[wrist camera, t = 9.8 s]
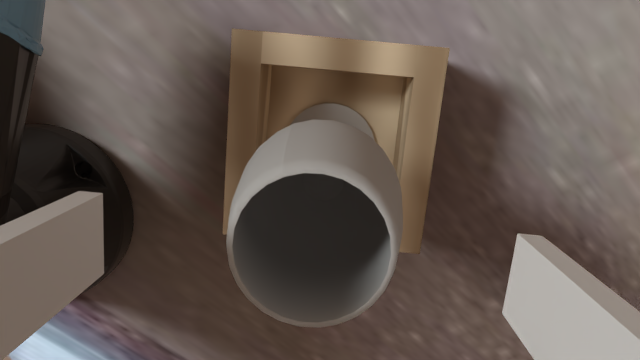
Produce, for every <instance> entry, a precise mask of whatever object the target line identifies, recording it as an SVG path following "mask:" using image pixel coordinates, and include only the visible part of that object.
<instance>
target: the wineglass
mask: <svg viewBox="0 0 640 360" xmlns="http://www.w3.org/2000/svg"><path fill="white" fill-rule="evenodd" d="M402 232H403V209H402V192H401V186H400V183H399V180H398V177H397V173H396V170H395V168H394V166H393V165H392V163H391V161H390V160H389V158H388V157H387V155H386V153H385V152H384V150H383V149H382V148H381V147H380V146H379V145H378V144H377V143H376V142H375V140H374V137H373V134H372V130H371V129H370V127H369V125H368V124H367V122H366V121H365V119H363V118H362V117H361V116H360V115H359V114H358V113H357V112H356V111H354V110H352V109H350V108H349V107H346V106H343V105H340V104H333V103H324V104H319V105H314V106H312V107H310V108H308V109H306V110H304V111H303V112H302V113H300V114H299V115H298V116H297V117H296V118H295V119H294V120H293V122H292V123H291V124H290V126H288V127H286V128H284V129H282V130H280V131H278V132H276V133H275V134H274V135H273V136H271V137H270V138H269V139H268V140H267V141H266V142H264V143H263V144H262V145H261V146H260V147H259V148H258V149H257V150H256V152H255V153H254V154H253V156H252V157H251V159H250V160H249V161H248V163H247V165H246V167H245V169H244V171H243V174H242V176H241V179H240V181H239V184H238V186H237V189H236V192H235V194H234V197H233V200H232V204H231V208H230V214H229V220H228V229H227V238H226V248H227V255H228V263H229V267H230V269H231V272H232V274H233V277H234V279H235V282H236V284H237V285H238V287H239V288H240V289H241V291H242V292H243V293H244V295H245V296H246V298H247V299H248V300H249V301H250V302H252V303H253V304H254V305H255V306H256V307H257V308H258V309H260V310H261V311H262V312H263V313H265V314H267V315H269V316H271V317H273V318H275V319H276V320H278V321H281V322H284V323H288V324H291V325H295V326H298V327H314V328H320V327H326V326H332V325H338V324H341V323H343V322H346V321H348V320H351V319H353V318H355V317H357V316H359V315H360V314H361V313H363V312H364V311H366V310H367V309H368V308H370V307H371V306H372V305H373V304H374V303H375V302H376V301H377V300H378V298H379V297H380V296H381V295H382V294H383V293H384V292H385V290H386V288H387V286H388V284H389V282H390V280H391V278H392V276H393V273H394V271H395V268H396V263H397V259H398V254H399V249H400V244H401V239H402Z"/></svg>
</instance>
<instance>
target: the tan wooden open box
mask: <svg viewBox="0 0 640 360" xmlns="http://www.w3.org/2000/svg"><path fill="white" fill-rule="evenodd" d="M449 49H450V48H442V47H431V46H420V45H409V44H398V43H386V42H375V41H364V40H353V39H342V38H331V37H320V36H308V35H297V34H286V33H275V32H264V31H253V30H242V29H232V39H231V61H230V83H229V105H228V127H227V148H226V170H225V192H224V214H223V234H226V235H227V229H228V220H229V214H230V208H231V204H232V200H233V197H234V194H235V192H236V189H237V186H238V184H239V181H240V179H241V176H242V174H243V171H244V169H245V167H246V165H247V163H248V161H249V160H250V159H251V157H252V156H253V154H254V153H255V152H256V150H257V149H258V148H259V147H260V146H261V145H262V144H263V143H264V142H266V141H267V140H268V139H269V138H270V137H271V136H273V135H274V134H275V133H276V132H278V131H280V130H282V129H284V128H286V127H288V126H290V124H291V123H292V122H293V120H294V119H295V118H296V117H297V116H298V115H299V114H300V113H302V112H303V111H304V110H306V109H308V108H310V107H312V106H314V105H319V104H324V103H333V104H340V105H343V106H346V107H349V108H350V109H352V110H354V111H356V112H357V113H358V114H359V115H360V116H361V117H362V118H363V119H365V121H366V122H367V124H368V125H369V127H370V129H371V130H372V134H373V137H374V140H375V142H376V143H377V144H378V145H379V146H380V147H381V148H382V149H383V150H384V152H385V153H386V155H387V157H388V158H389V160H390V161H391V163H392V165H393V166H394V168H395V170H396V173H397V177H398V180H399V183H400V186H401V192H402V209H403V232H402V239H401V244H400V249H399V252H405V253H415V254H420V248H421V241H422V234H423V227H424V221H425V214H426V207H427V200H428V193H429V186H430V179H431V172H432V166H433V159H434V152H435V145H436V138H437V131H438V124H439V118H440V111H441V104H442V97H443V90H444V83H445V76H446V69H447V63H448V56H449Z"/></svg>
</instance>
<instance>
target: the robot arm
mask: <svg viewBox="0 0 640 360" xmlns="http://www.w3.org/2000/svg"><path fill="white" fill-rule="evenodd" d="M44 8H45V0H0V360H3V359H4V358H5V357H6V356H7V355H9V354H10V353H11V352H12V351H13V350H14V349H16V348H17V347H18V346H19V345H20V344H22V343H23V342H24V341H25V340H26V339H27V338H29V337H30V336H31V335H32V334H33V333H35V332H36V331H37V330H38V329H39V328H40V327H42V326H43V325H44V324H45V323H46V322H48V321H49V320H50V319H51V318H52V317H53V316H55V315H56V314H57V313H58V312H59V311H61V310H62V309H63V308H64V307H65V306H66V305H68V304H69V303H70V302H71V301H72V300H74V299H75V298H76V297H77V296H78V295H79V294H81V293H83V292H85V291H87V290H88V289H90V288H92V287H93V286H95V285H96V284H97V283H98V282H100V281H101V280H102V279H103V278H104V277H106V276H107V275H108V274H109V273H110V272H111V271H112V270H113V269H114V268H115V267H116V266H117V265H118V264H119V262H120V261H121V260H122V258H123V256H124V255H125V253H126V251H127V248H128V246H129V243H130V240H131V236H132V230H133V208H132V202H131V198H130V194H129V191H128V188H127V186H126V184H125V181H124V179H123V178H122V176H121V174H120V172H119V171H118V169H117V168H116V166H115V165H114V164H113V162H112V161H111V160H110V159H109V158H108V156H107V155H106V154H105V153H104V152H103V151H102V150H101V149H99V148H98V147H97V146H96V145H94V144H93V143H92V142H90V141H89V140H87V139H86V138H84V137H82V136H80V135H79V134H77V133H74V132H72V131H70V130H67V129H64V128H61V127H57V126H52V125H46V124H27V125H25V121H26V115H27V110H28V104H29V99H30V94H31V88H32V83H33V78H34V73H35V69H36V64H37V59H38V55H39V56H41V55H42V52H43V46H42V45H41V44H40V41H41V33H42V25H43V16H44ZM502 314H503V315H504V317H505V318H506V320H507V321H508V323H509V324H510V326H511V327H512V328H513V330H514V331H515V333H516V334H517V336H518V337H519V339H520V340H521V341H522V343H523V344H524V346H525V347H526V349H527V350H528V352H529V353H530V354H531V356H532V357H533V359H534V360H640V312H639V311H638V310H637V309H636V308H634V307H633V306H632V305H630V304H629V303H628V302H627V301H625V300H624V299H623V298H621V297H620V296H619V295H618V294H616V293H615V292H614V291H612V290H611V289H610V288H609V287H607V286H606V285H605V284H603V283H602V282H601V281H600V280H598V279H597V278H596V277H594V276H593V275H592V274H591V273H589V272H588V271H587V270H586V269H584V268H583V267H582V266H580V265H579V264H578V263H577V262H575V261H574V260H573V259H571V258H570V257H569V256H568V255H566V254H565V253H564V252H562V251H561V250H560V249H559V248H557V247H556V246H555V245H553V244H552V243H551V242H550V241H548V240H547V239H546V238H544V237H543V236H540V235H530V234H519V233H518V234H517V239H516V244H515V249H514V255H513V260H512V265H511V270H510V275H509V280H508V285H507V291H506V296H505V301H504V306H503V311H502Z"/></svg>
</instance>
